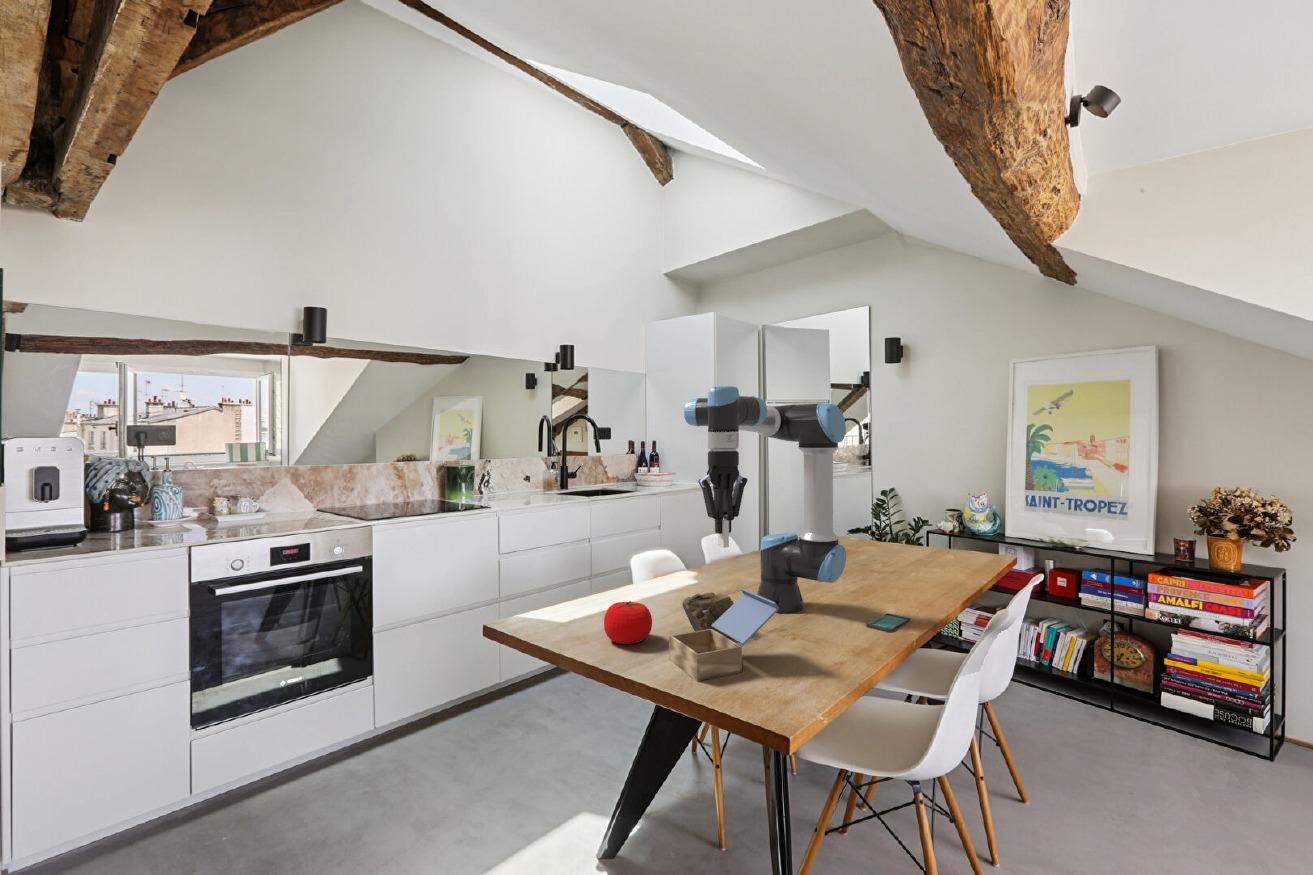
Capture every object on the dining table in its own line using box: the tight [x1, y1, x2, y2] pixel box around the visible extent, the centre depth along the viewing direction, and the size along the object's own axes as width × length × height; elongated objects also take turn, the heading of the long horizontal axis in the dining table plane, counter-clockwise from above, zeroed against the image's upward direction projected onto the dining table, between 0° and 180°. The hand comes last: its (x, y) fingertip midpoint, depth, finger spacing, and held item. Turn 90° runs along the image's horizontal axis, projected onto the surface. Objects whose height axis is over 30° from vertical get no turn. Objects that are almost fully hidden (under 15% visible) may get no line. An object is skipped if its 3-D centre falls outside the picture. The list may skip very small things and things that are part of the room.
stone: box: [681, 591, 735, 639], centre depth 166 cm, size 16×9×15 cm
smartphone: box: [865, 613, 911, 633], centre depth 176 cm, size 7×1×15 cm
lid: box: [711, 588, 779, 646], centre depth 149 cm, size 14×12×2 cm
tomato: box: [603, 600, 653, 645], centre depth 162 cm, size 14×13×10 cm
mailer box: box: [668, 629, 743, 682], centre depth 144 cm, size 14×12×6 cm
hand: (723, 546), depth 146 cm, fingers closed
